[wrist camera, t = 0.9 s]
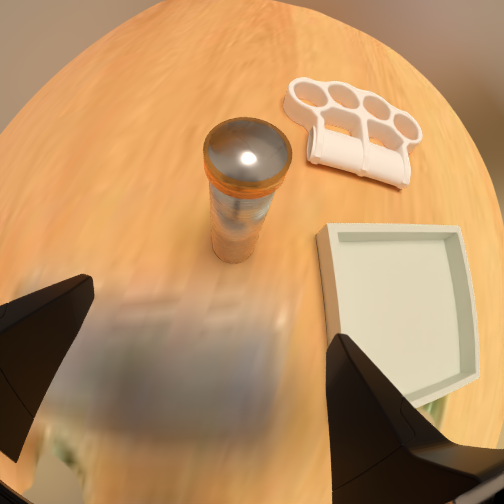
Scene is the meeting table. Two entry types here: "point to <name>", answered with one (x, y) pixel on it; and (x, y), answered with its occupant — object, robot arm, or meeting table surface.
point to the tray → (403, 302)
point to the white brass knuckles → (354, 130)
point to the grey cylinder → (242, 181)
